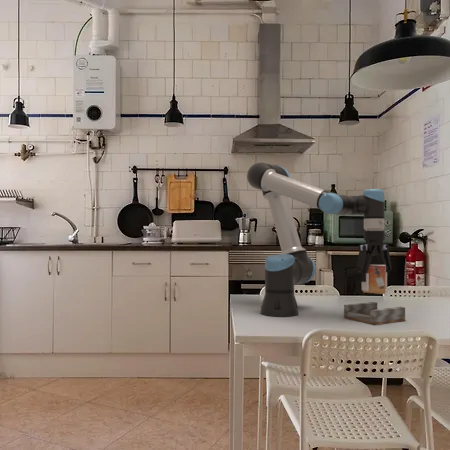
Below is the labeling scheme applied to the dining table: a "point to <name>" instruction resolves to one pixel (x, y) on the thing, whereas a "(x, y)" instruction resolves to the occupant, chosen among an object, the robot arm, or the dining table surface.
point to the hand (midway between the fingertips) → (374, 289)
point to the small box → (377, 279)
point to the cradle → (373, 313)
